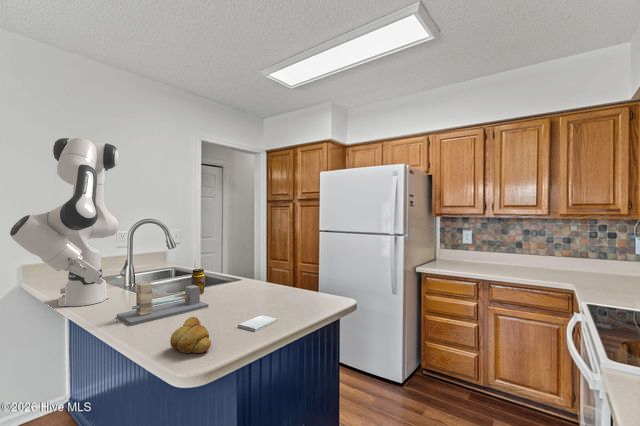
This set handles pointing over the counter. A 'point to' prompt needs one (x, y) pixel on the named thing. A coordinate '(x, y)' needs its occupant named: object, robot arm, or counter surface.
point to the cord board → (166, 307)
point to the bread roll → (191, 337)
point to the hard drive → (257, 323)
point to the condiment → (198, 279)
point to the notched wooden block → (144, 298)
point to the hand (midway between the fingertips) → (100, 282)
